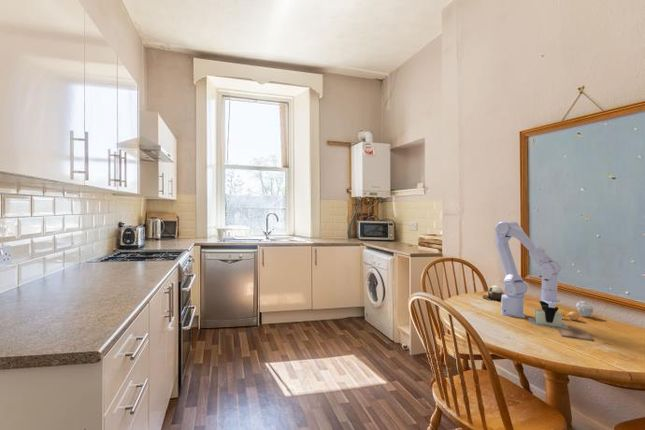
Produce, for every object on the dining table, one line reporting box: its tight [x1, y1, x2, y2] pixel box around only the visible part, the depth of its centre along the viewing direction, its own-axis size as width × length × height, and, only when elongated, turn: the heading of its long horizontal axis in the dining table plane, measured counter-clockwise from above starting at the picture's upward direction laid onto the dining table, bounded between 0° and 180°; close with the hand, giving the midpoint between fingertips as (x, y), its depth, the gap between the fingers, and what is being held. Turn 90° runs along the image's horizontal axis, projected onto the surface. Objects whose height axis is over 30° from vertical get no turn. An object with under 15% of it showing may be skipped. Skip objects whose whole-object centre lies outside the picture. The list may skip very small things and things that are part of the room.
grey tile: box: [527, 317, 570, 329], centre depth 149 cm, size 14×10×1 cm
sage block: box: [534, 308, 563, 327], centre depth 149 cm, size 9×6×5 cm, turn 66°
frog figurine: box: [575, 300, 594, 318], centre depth 161 cm, size 6×7×7 cm
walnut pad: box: [555, 327, 594, 342], centre depth 136 cm, size 10×10×1 cm
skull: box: [482, 285, 505, 302], centre depth 190 cm, size 12×10×10 cm
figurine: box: [559, 311, 580, 321], centre depth 156 cm, size 8×6×12 cm
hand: (547, 320), depth 149 cm, fingers closed on sage block, 5 cm apart
